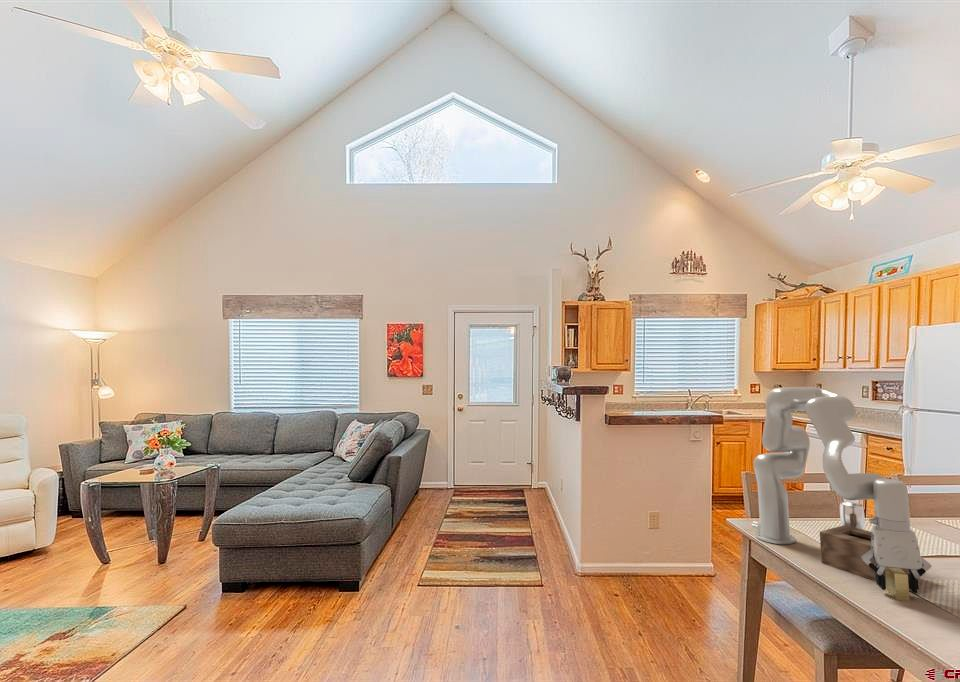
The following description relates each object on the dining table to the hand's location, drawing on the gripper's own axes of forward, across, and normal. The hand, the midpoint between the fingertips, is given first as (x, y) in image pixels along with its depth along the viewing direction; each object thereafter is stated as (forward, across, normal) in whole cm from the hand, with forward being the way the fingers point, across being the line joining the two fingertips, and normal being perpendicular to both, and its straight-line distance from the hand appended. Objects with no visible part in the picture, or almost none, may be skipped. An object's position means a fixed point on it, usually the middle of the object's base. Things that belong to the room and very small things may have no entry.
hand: (897, 589), depth 134 cm
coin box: (+2, -1, +18) cm, 19 cm away
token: (+2, 0, 0) cm, 2 cm away
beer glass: (+2, +2, +39) cm, 39 cm away
